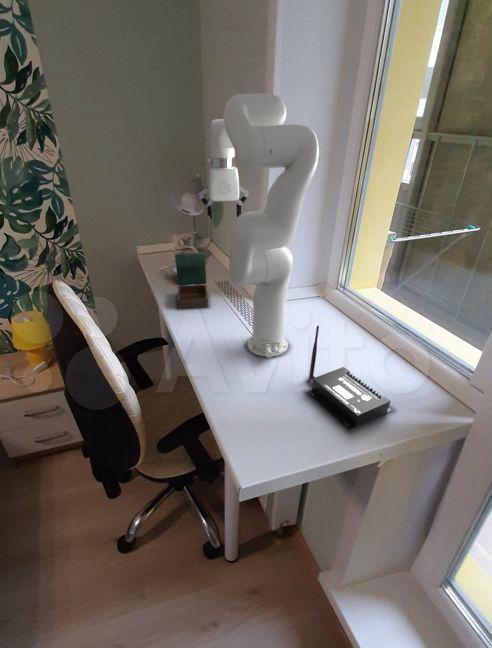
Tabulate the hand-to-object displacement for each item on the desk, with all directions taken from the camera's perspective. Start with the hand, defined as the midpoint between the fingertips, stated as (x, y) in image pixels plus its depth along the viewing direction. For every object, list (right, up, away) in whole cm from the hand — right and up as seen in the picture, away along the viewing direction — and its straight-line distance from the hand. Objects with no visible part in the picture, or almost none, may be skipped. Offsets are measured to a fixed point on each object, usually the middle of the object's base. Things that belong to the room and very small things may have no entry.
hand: (224, 217), depth 134 cm
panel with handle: (-13, -16, +11) cm, 23 cm away
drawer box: (-12, -28, +14) cm, 33 cm away
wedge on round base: (-16, -16, +31) cm, 38 cm away
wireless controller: (+30, -59, -35) cm, 75 cm away
